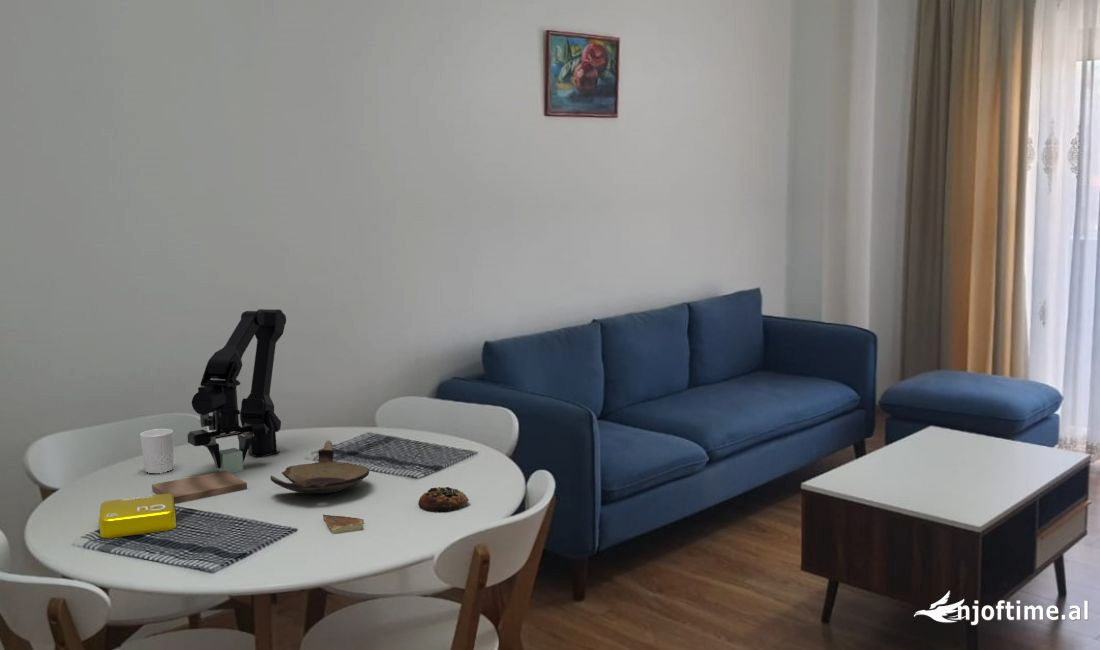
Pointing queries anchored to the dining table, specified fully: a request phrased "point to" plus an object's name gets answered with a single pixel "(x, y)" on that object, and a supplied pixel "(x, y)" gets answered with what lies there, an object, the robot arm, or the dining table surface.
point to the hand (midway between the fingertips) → (229, 466)
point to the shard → (343, 523)
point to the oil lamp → (322, 474)
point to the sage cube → (231, 460)
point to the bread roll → (442, 500)
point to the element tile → (137, 516)
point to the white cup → (157, 450)
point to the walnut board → (200, 486)
